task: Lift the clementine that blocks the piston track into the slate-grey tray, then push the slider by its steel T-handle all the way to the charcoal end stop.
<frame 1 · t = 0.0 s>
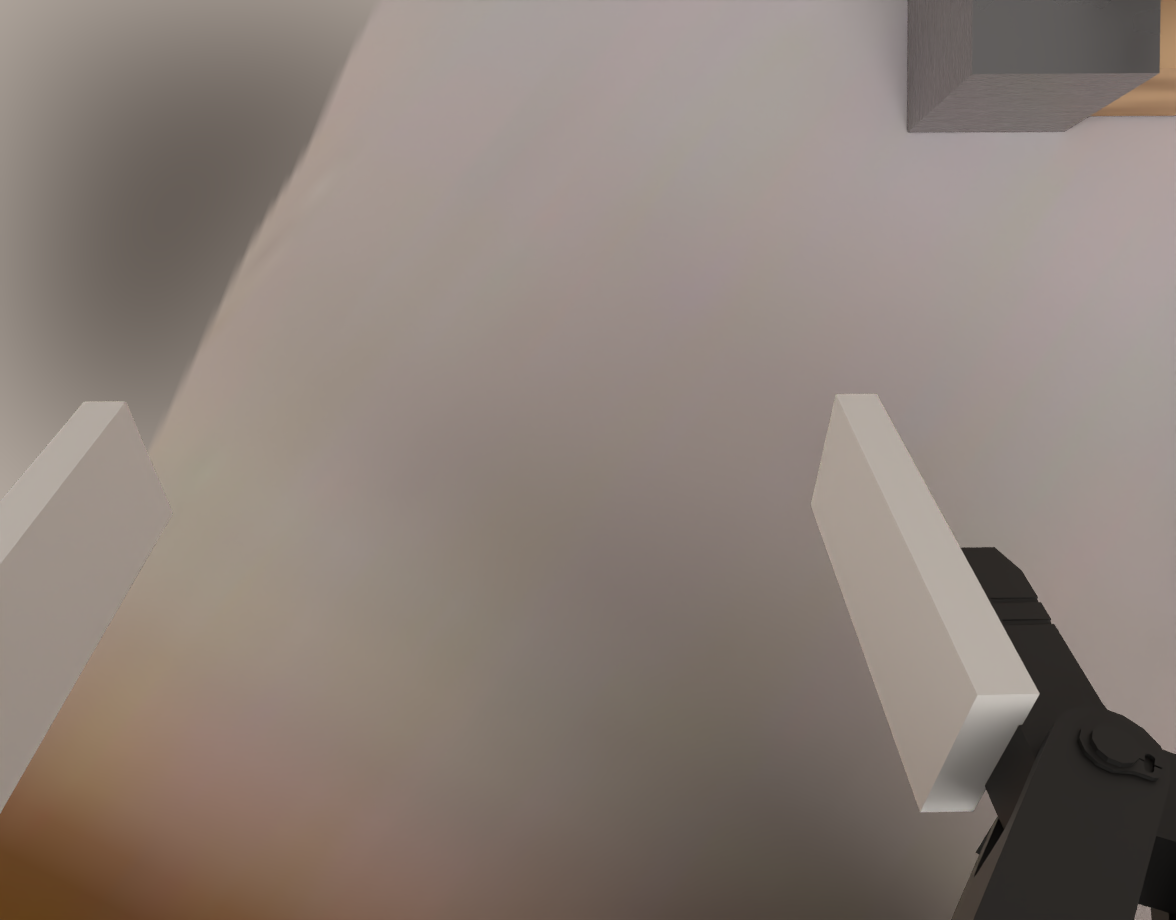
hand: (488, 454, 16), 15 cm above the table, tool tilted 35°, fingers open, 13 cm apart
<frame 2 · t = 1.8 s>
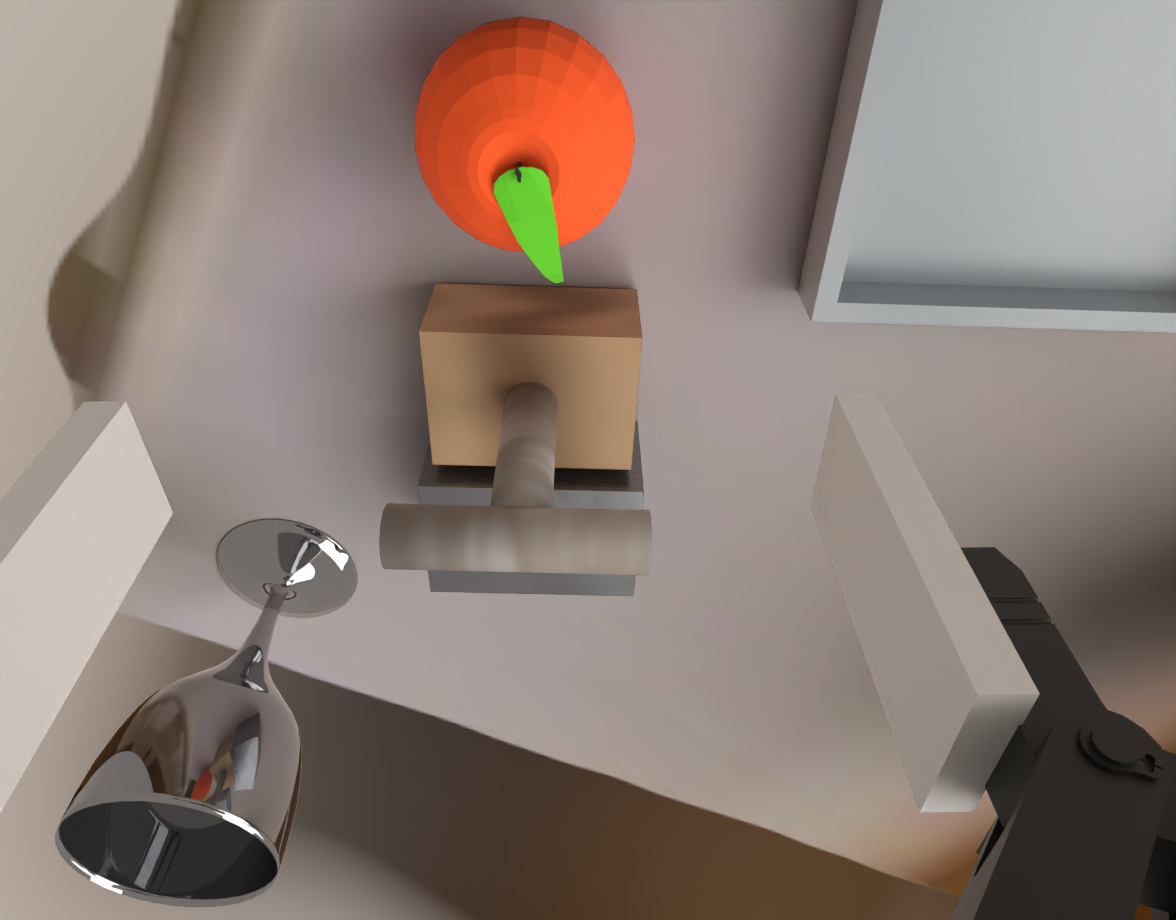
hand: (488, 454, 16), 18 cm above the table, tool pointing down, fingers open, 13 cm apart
slider: (528, 439, 29), point 6 cm above the table, slide at 0.0 cm
wine glass: (289, 567, 42), on the table
clementine: (536, 125, 29), on the table
tray: (1092, 70, 28), on the table
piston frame: (536, 223, 31), on the table
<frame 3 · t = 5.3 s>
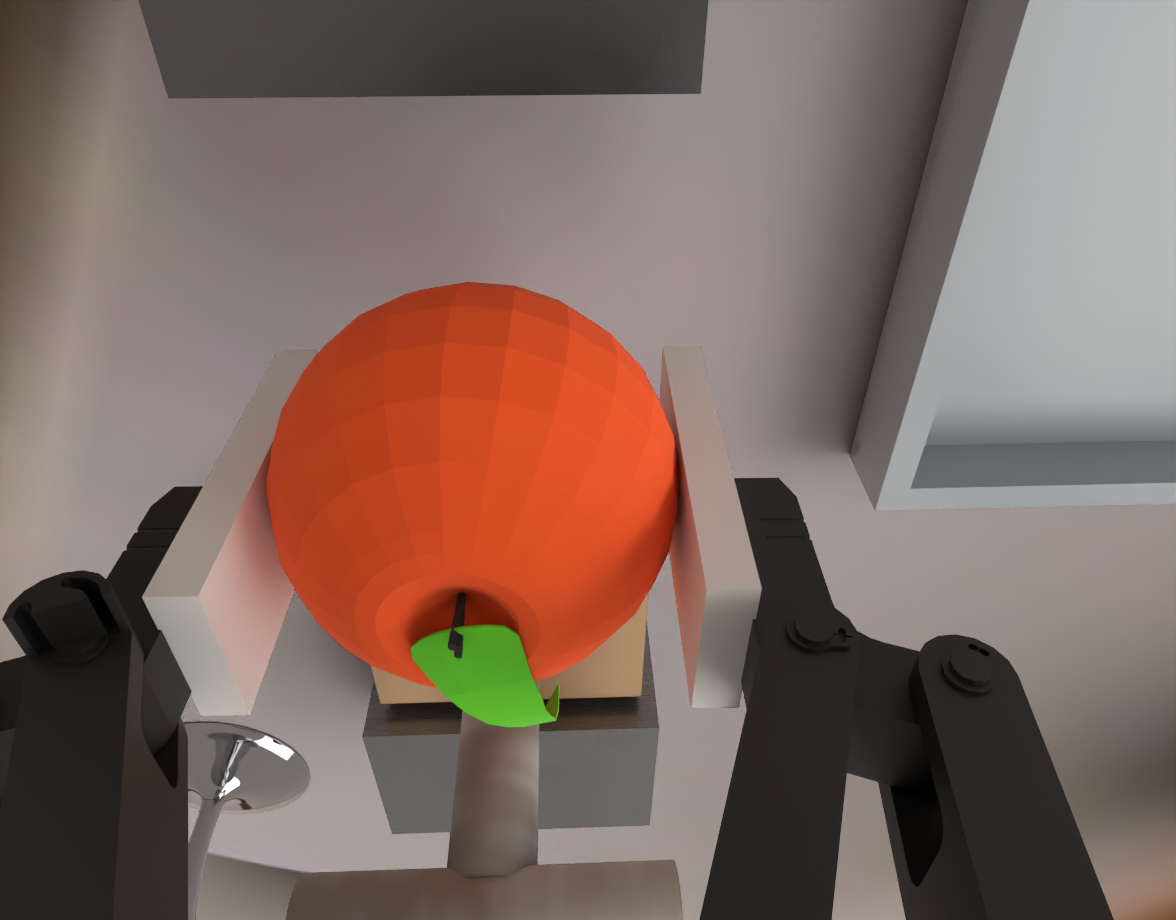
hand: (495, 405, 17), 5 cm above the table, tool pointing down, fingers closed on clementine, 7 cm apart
slider: (501, 705, 21), point 6 cm above the table, slide at 0.0 cm
wine glass: (225, 766, 35), on the table
clementine: (505, 393, 17), point 5 cm above the table, touching gripper
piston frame: (499, 394, 23), on the table
when the fingers open (2 cm above the table, at t = 9.8 s): clementine drops 1 cm, resting on tray.
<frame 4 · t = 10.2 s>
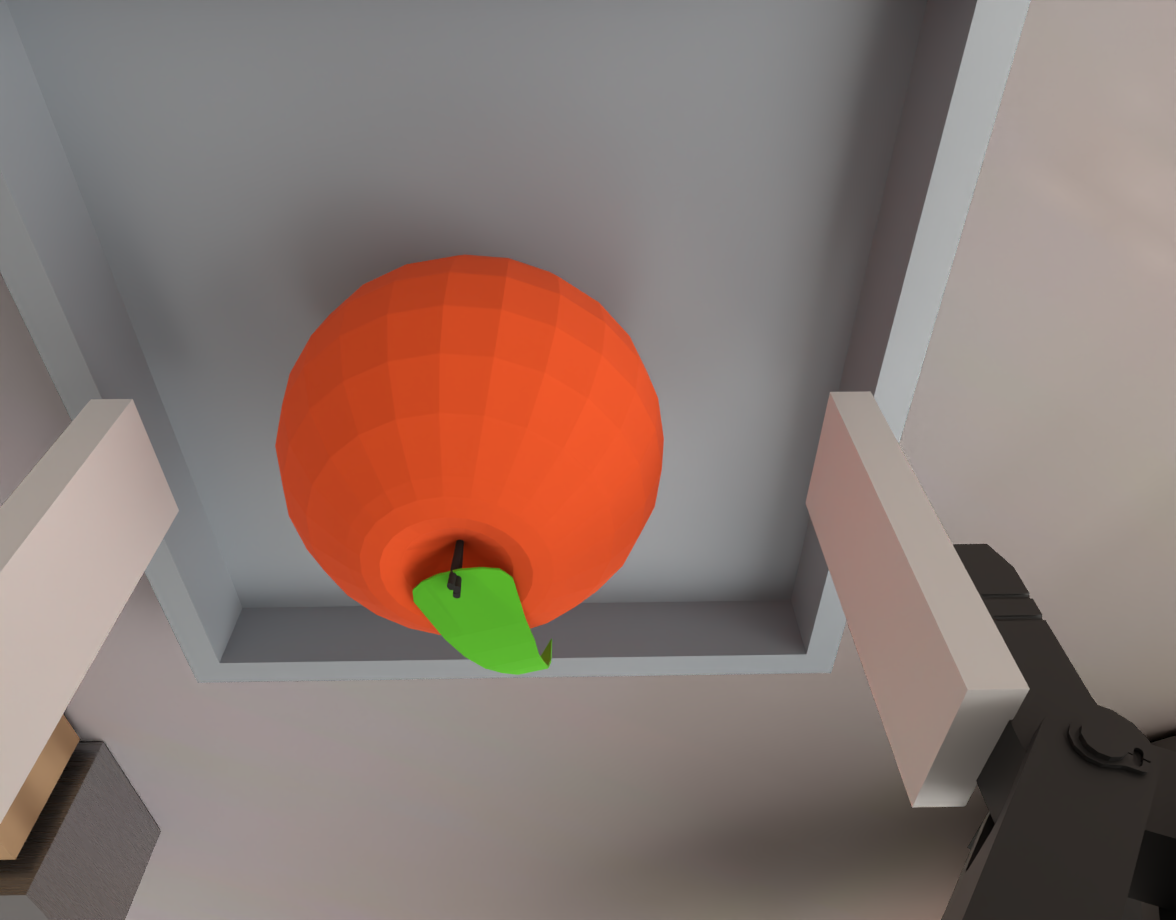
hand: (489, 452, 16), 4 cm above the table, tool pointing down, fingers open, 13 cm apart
clementine: (500, 366, 18), resting on tray
tray: (501, 355, 18), on the table
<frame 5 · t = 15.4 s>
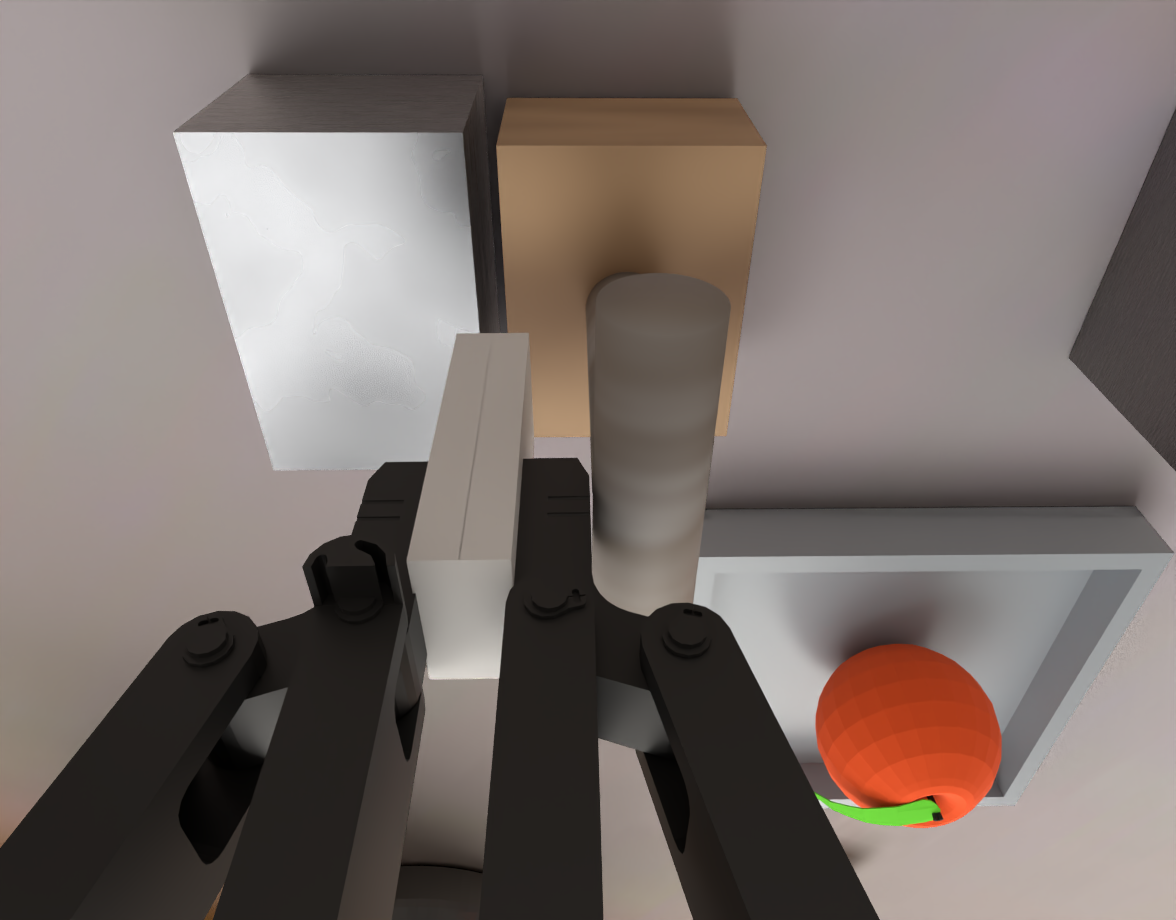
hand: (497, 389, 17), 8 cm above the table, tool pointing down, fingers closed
slider: (630, 354, 19), point 6 cm above the table, slide at 0.1 cm, touching gripper
clementine: (864, 660, 35), resting on tray
tray: (863, 653, 36), on the table
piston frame: (800, 241, 24), on the table
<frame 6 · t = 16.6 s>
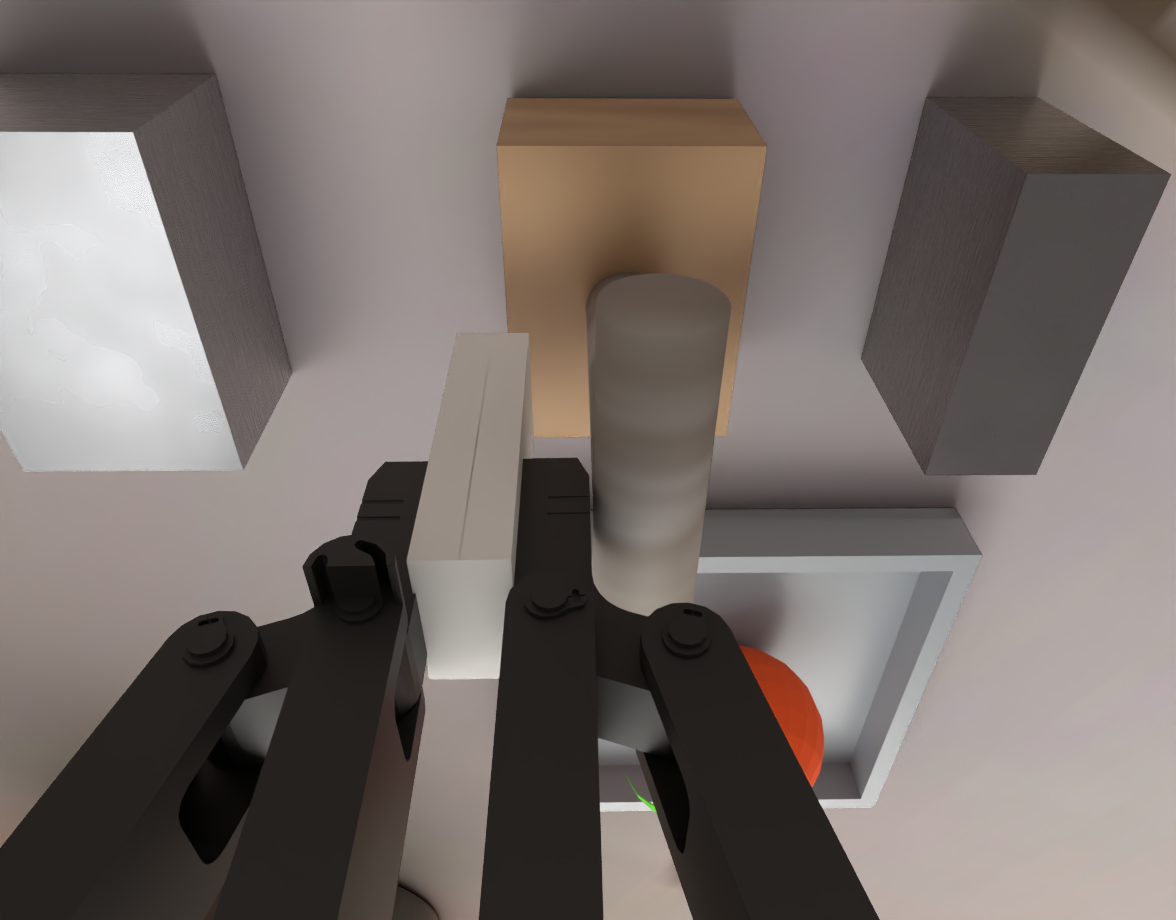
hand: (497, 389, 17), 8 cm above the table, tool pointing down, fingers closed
slider: (631, 354, 19), point 6 cm above the table, slide at 7.0 cm, touching gripper
clementine: (708, 661, 35), resting on tray
tray: (708, 654, 35), on the table
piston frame: (568, 241, 24), on the table
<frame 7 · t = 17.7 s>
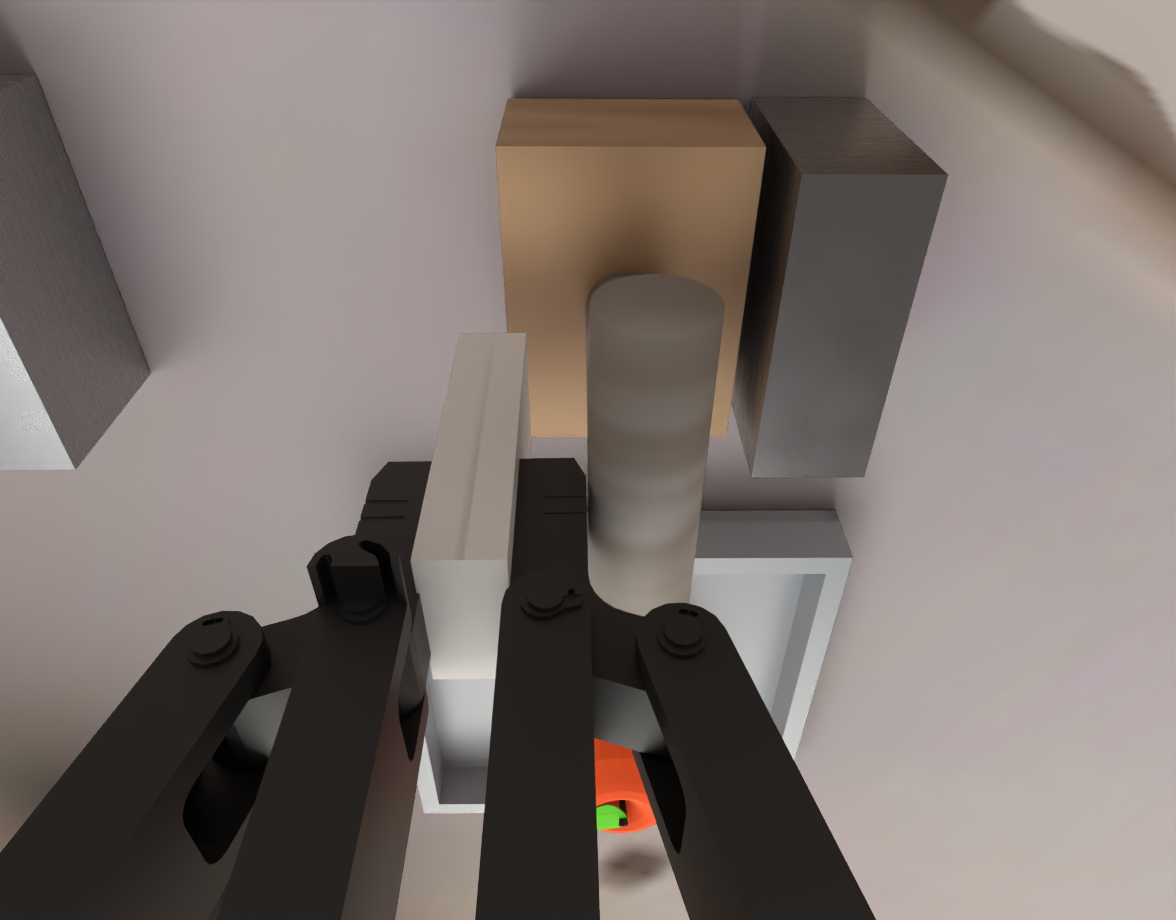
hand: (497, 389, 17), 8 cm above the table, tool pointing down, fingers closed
slider: (629, 355, 19), point 6 cm above the table, slide at 11.6 cm, touching gripper
clementine: (603, 663, 35), resting on tray
tray: (604, 656, 35), on the table
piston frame: (409, 242, 24), on the table
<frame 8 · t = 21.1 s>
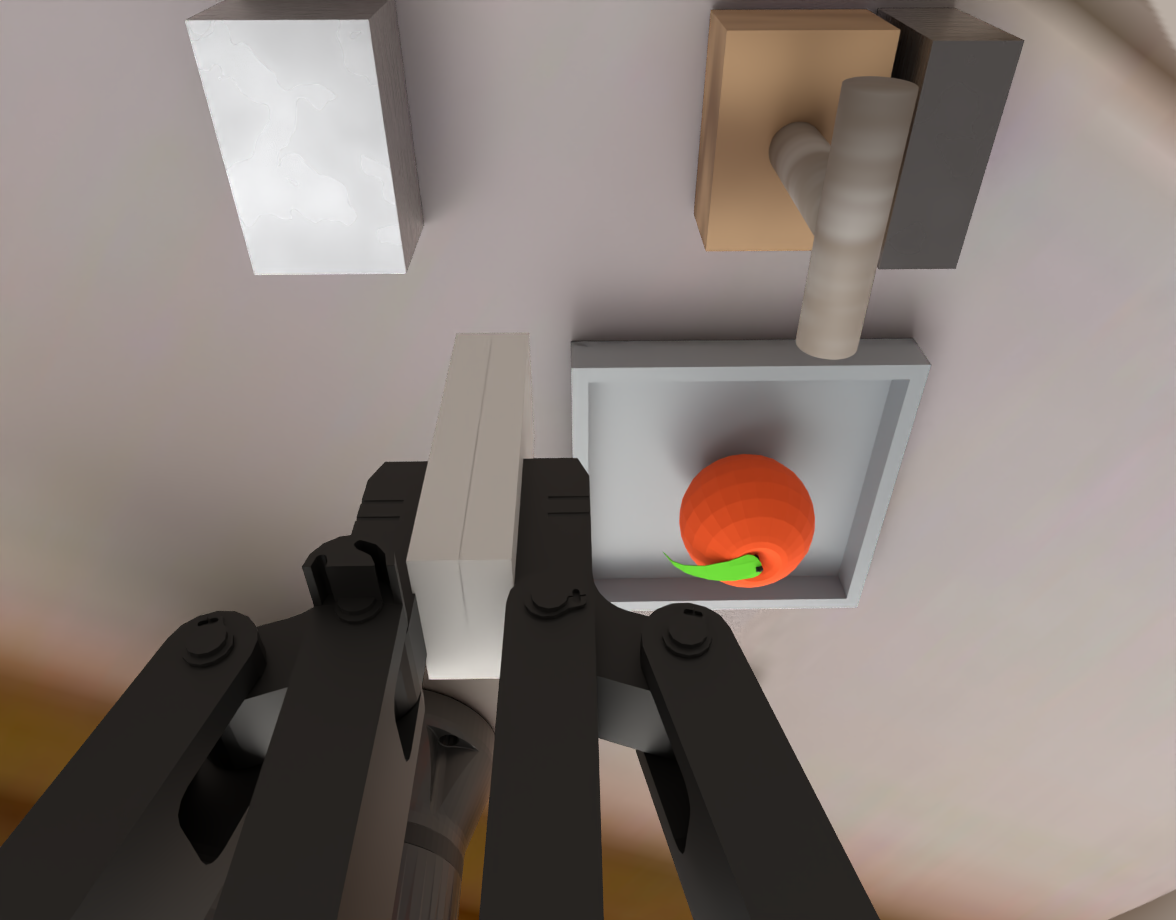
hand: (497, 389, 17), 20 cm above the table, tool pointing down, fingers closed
slider: (809, 169, 28), point 6 cm above the table, slide at 11.5 cm
clementine: (725, 477, 45), resting on tray
tray: (724, 473, 45), on the table
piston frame: (628, 118, 33), on the table
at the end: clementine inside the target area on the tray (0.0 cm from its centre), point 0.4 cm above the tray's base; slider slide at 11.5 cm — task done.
